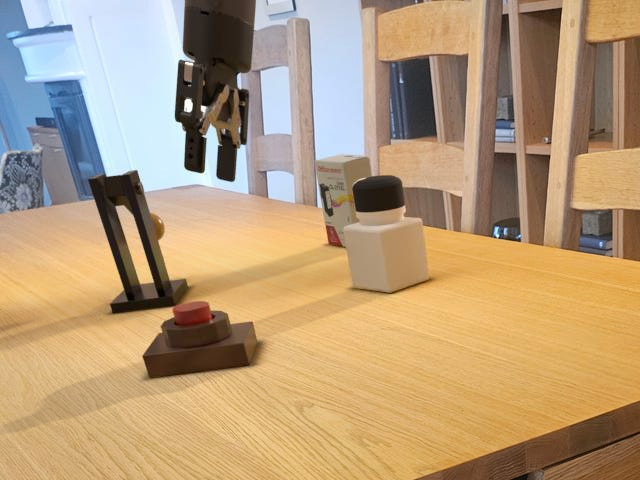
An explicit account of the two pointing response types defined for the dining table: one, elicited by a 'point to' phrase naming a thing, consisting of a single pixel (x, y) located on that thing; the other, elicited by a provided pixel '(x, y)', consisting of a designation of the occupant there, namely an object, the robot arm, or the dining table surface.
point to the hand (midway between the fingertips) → (210, 176)
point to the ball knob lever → (119, 198)
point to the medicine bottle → (384, 238)
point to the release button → (192, 313)
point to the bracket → (134, 292)
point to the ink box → (340, 191)
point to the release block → (200, 346)
